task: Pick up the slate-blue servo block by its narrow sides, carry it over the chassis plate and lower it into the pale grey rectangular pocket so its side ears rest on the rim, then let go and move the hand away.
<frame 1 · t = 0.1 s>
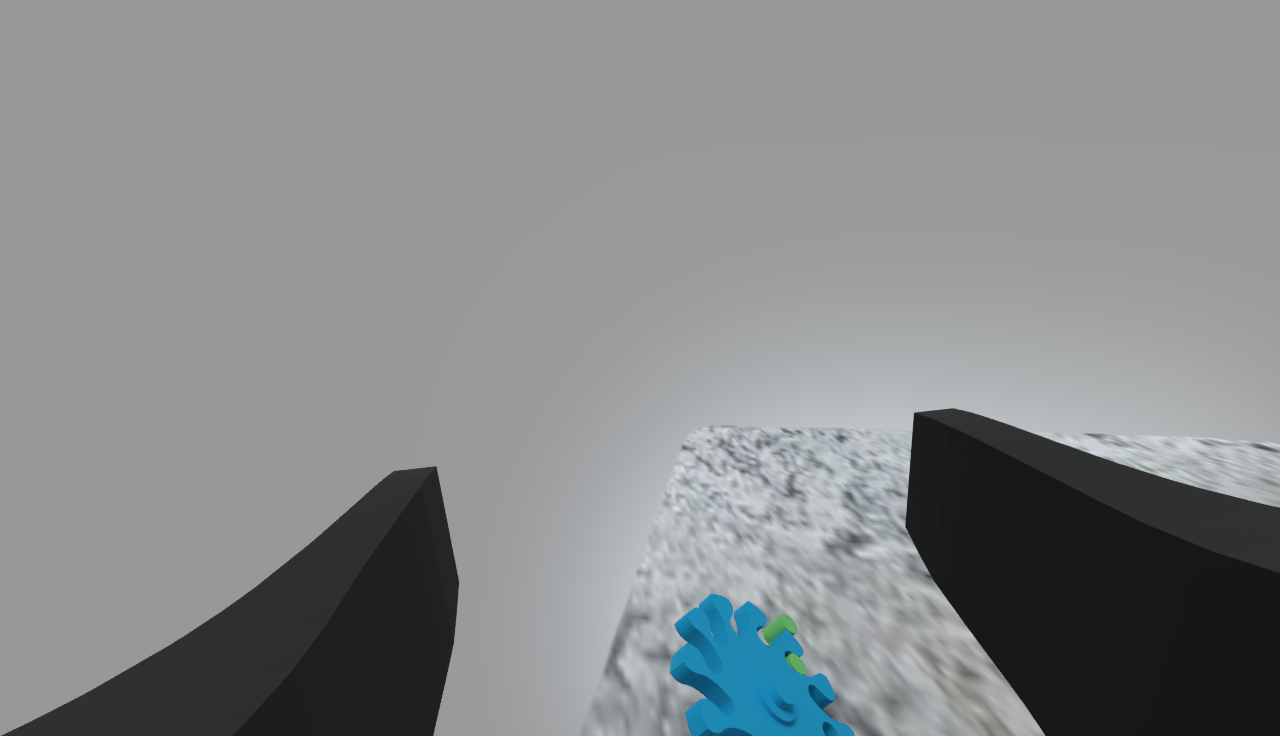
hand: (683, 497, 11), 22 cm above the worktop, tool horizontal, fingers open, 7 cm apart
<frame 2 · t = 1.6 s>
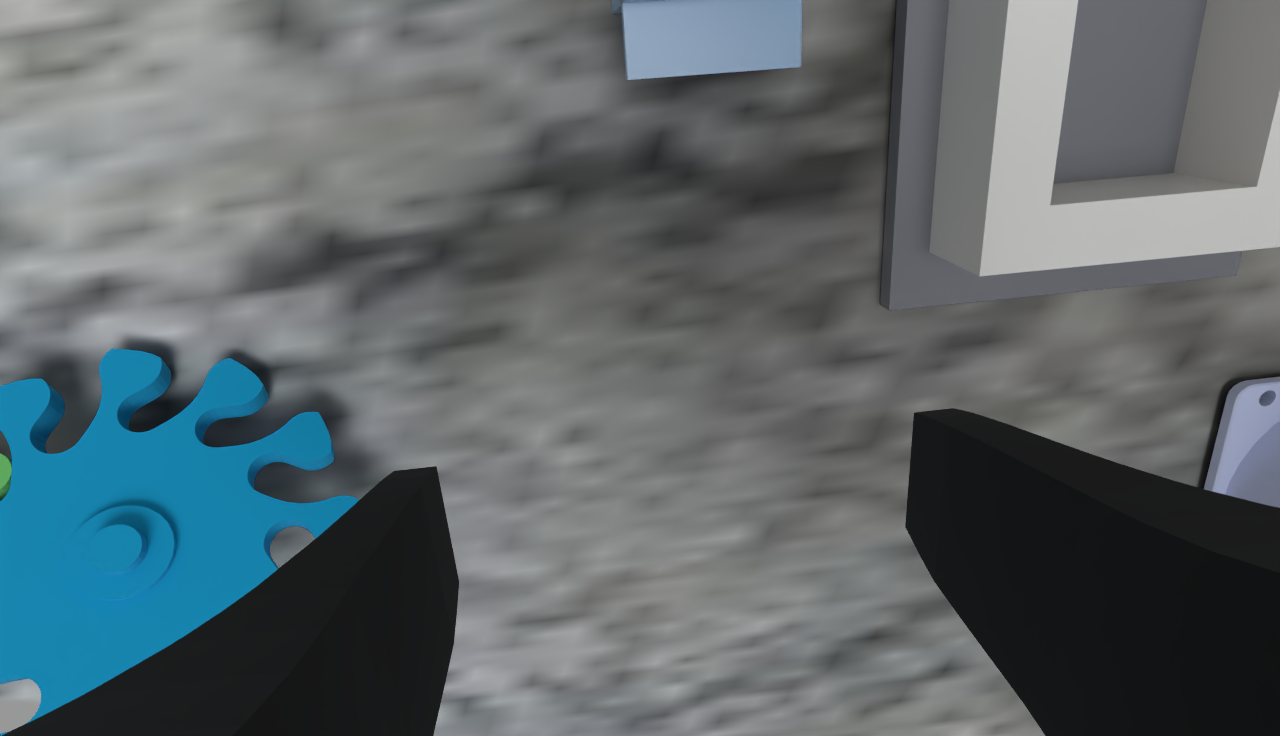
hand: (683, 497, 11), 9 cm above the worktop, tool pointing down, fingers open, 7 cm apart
gear: (186, 465, 20), on the worktop
chassis: (1088, 34, 19), on the worktop
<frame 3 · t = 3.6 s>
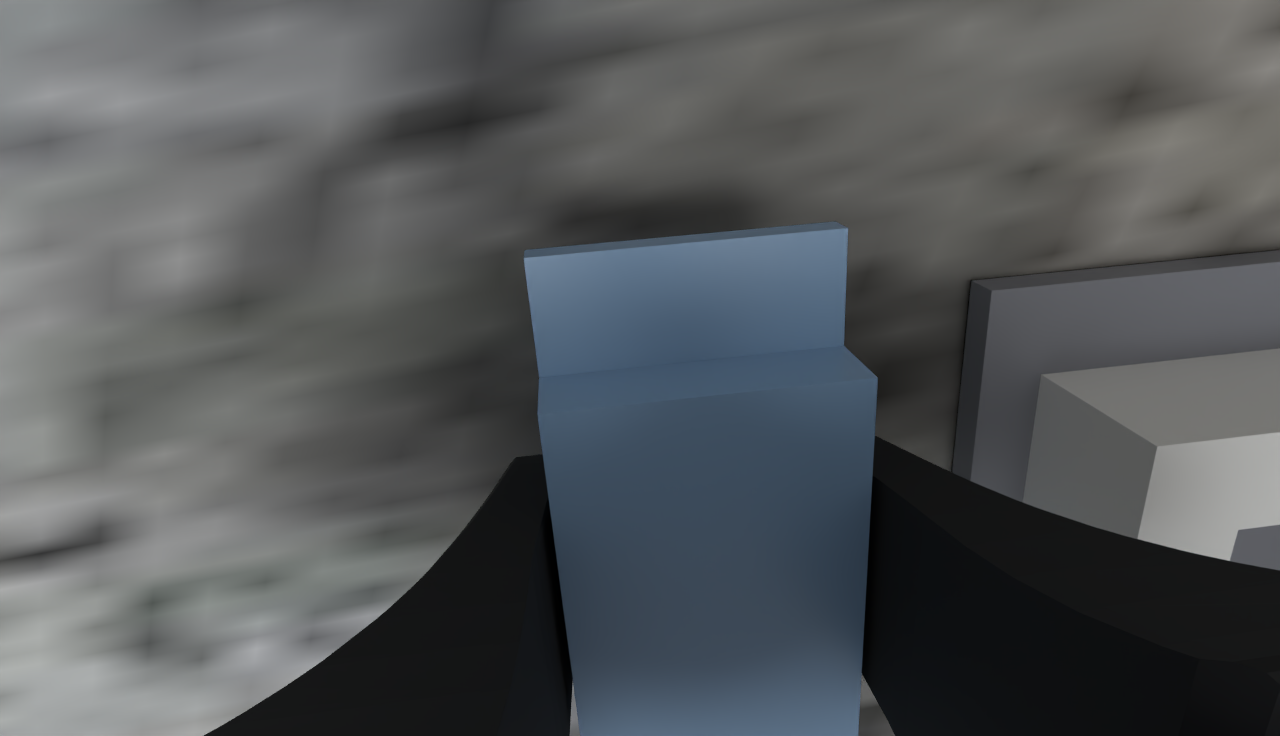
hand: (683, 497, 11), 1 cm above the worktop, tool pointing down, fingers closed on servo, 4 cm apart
servo: (669, 452, 13), on the worktop, touching gripper
chassis: (1181, 575, 15), on the worktop
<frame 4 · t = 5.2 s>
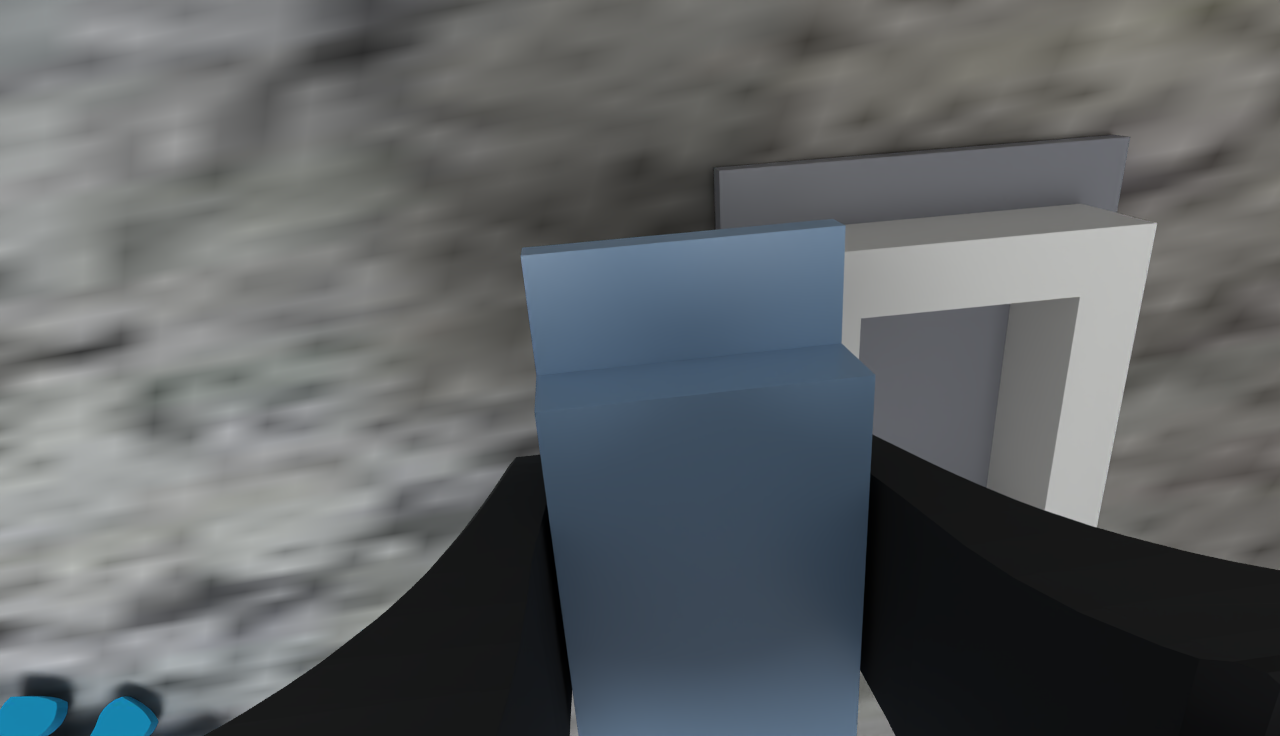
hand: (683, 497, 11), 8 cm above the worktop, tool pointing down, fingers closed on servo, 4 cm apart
servo: (667, 450, 12), point 7 cm above the worktop, touching gripper
chassis: (899, 395, 20), on the worktop
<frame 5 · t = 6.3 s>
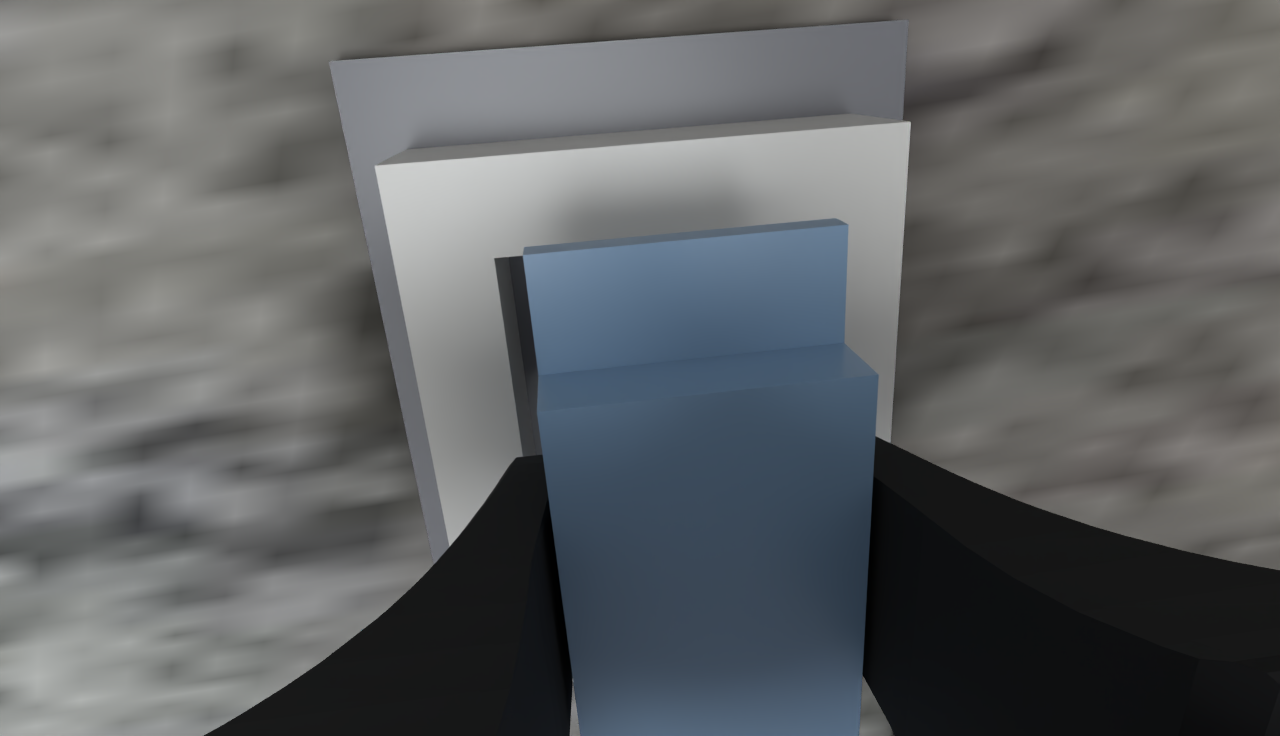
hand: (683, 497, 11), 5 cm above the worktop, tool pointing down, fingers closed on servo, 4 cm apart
servo: (669, 450, 12), point 4 cm above the worktop, touching gripper
chassis: (647, 375, 16), on the worktop
when the fingers open (4 cm above the worktop, at t = 6.9 s): servo drops 2 cm, resting on chassis.
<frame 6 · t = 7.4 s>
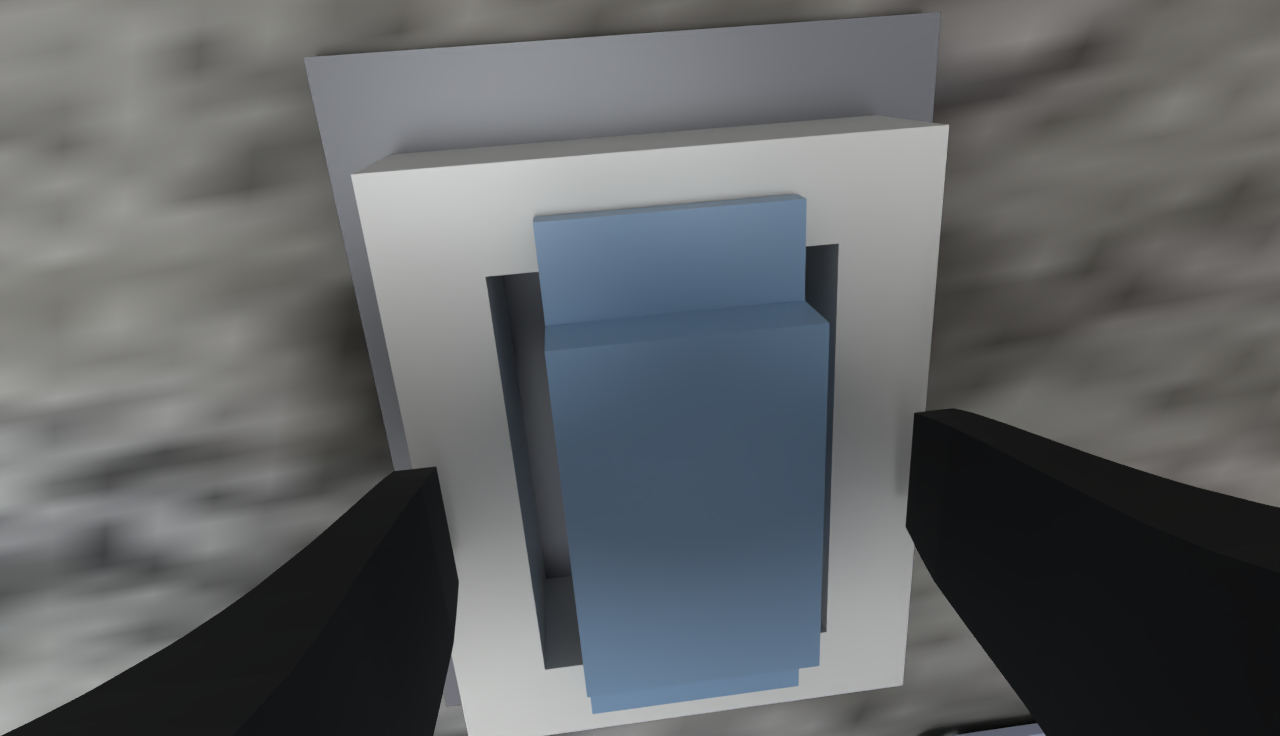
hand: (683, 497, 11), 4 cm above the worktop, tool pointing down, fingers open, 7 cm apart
servo: (659, 406, 14), point 1 cm above the worktop, touching chassis
chassis: (653, 397, 15), on the worktop
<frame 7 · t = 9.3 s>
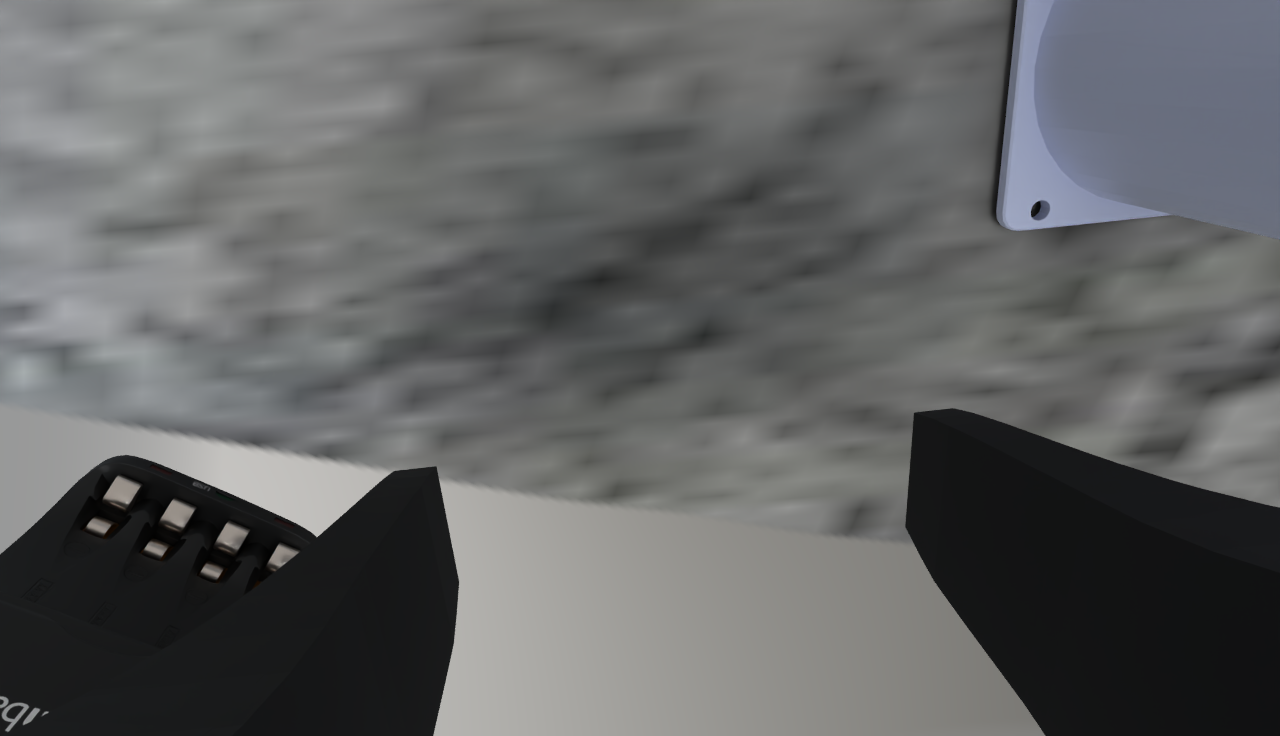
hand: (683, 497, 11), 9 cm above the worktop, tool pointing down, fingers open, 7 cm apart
battery charger: (217, 515, 21), on the worktop
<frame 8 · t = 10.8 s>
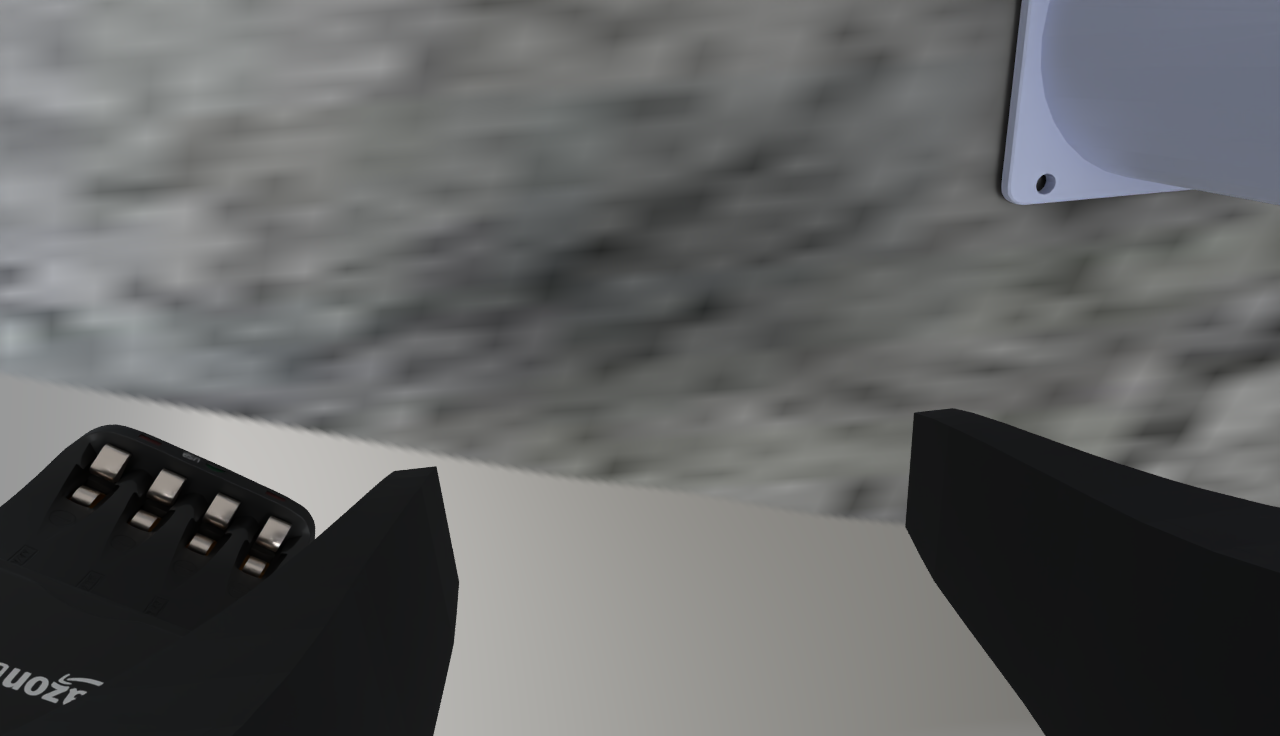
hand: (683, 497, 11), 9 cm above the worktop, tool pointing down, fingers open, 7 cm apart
battery charger: (207, 488, 21), on the worktop
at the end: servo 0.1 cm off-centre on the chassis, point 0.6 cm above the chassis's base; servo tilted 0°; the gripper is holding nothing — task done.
